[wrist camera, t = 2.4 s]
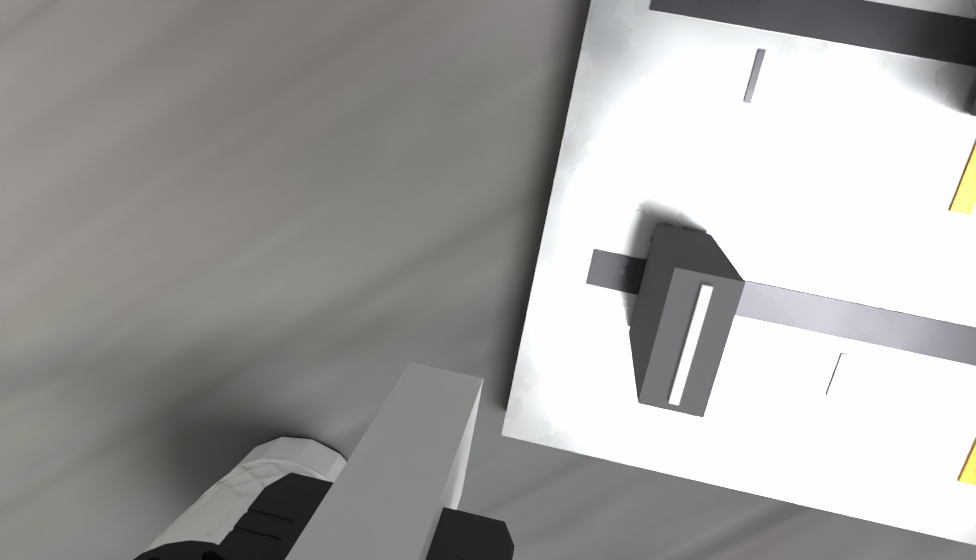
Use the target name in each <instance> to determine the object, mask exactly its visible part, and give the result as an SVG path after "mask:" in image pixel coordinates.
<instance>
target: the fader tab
mask: <svg viewBox="0 0 976 560" xmlns="http://www.w3.org/2000/svg"><path fill="white" fill-rule="evenodd" d="M744 285H745V281H744V279H743V278H742V277H741V275H740V274H739V272H738V271H737V270H736V268H735V267H734V265H733V264H732V263H731V261H730V260H729V258H728V257H727V256H726V254H725V253H724V251H723V250H722V249H721V247H720V246H719V244H718V243H717V242H716V240H715V239H714V237H713V236H712V235H711V234H708V233H703V232H698V231H693V230H688V229H683V228H678V227H673V226H668V225H663V224H658V223H656V227H655V231H654V235H653V239H652V243H651V247H650V251H649V255H648V258H647V262H646V266H645V270H644V274H643V278H642V282H641V286H640V289H639V293H638V297H637V301H636V305H635V309H634V313H633V317H632V321H631V324H630V328H629V332H628V333H629V341H630V348H631V356H632V363H633V371H634V378H635V386H636V393H637V401H638V404H643V405H647V406H652V407H656V408H661V409H665V410H670V411H674V412H679V413H683V414H687V415H692V416H696V417H701V418H704V415H705V412H706V409H707V406H708V402H709V399H710V396H711V393H712V389H713V386H714V383H715V380H716V376H717V373H718V370H719V366H720V363H721V360H722V357H723V353H724V350H725V347H726V344H727V340H728V337H729V334H730V331H731V327H732V324H733V321H734V318H735V314H736V311H737V308H738V305H739V301H740V298H741V295H742V292H743V288H744Z"/></svg>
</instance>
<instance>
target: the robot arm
mask: <svg viewBox="0 0 976 560" xmlns="http://www.w3.org/2000/svg"><path fill="white" fill-rule="evenodd" d="M482 383H483V378H479V377H474V376H470V375H465V374H461V373H457V372H452V371H448V370H443V369H439V368H434V367H430V366H425V365H421V364H417V363H412V362H410V364H409V365H408V367H407V368H406V370H405V371H404V373H403V375H402V376H401V378H400V379H399V381H398V382H397V384H396V386H395V387H394V389H393V390H392V392H391V393H390V395H389V397H388V398H387V400H386V401H385V403H384V404H383V406H382V408H381V409H380V411H379V412H378V414H377V415H376V417H375V419H374V420H373V422H372V423H371V425H370V426H369V428H368V430H367V431H366V433H365V434H364V436H363V438H362V439H361V441H360V442H359V444H358V445H357V447H356V449H355V450H354V452H353V453H352V455H351V456H350V458H349V460H348V461H347V463H346V464H345V466H344V467H343V469H342V471H341V472H340V474H339V475H338V477H337V478H336V480H335V482H329V481H325V480H321V479H317V478H313V477H309V476H305V475H301V474H297V473H292V472H291V473H289V474H287V475H286V476H284V477H282V478H280V479H278V480H277V481H275V482H273V483H271V484H270V485H268V486H266V487H265V488H264V489H263V490H262V491H261V493H260V494H259V495H258V496H257V498H256V499H255V500H254V501H253V503H252V504H251V505H250V506H249V508H248V510H247V513H244V514H243V515H242V516H241V518H240V519H239V520H238V521H237V523H236V524H235V525H234V528H233V530H232V531H229V533H228V534H227V535H226V536H225V538H224V539H223V540H222V542H221V543H220V544H219V545H218V544H215V543H213V542H203V541H194V540H188V541H181V542H174V543H167V544H164V545H161V546H159V547H156V548H154V549H151V550H149V551H146V552H144V553H142V554H140V555H139V556H138V557H137V558H135V559H134V560H512V557H513V551H514V544H513V542H512V539H511V536H510V534H509V531H508V529H507V526H506V523H505V522H504V521H500V520H496V519H491V518H487V517H483V516H479V515H475V514H471V513H467V512H463V511H458V510H457V507H458V503H459V500H460V497H461V493H462V488H463V483H464V477H465V472H466V467H467V462H468V456H469V451H470V446H471V441H472V436H473V430H474V425H475V420H476V415H477V409H478V404H479V399H480V394H481V388H482Z"/></svg>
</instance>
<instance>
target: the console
mask: <svg viewBox="0 0 976 560" xmlns="http://www.w3.org/2000/svg"><path fill="white" fill-rule="evenodd" d="M975 99H976V0H591V3H590V8H589V13H588V18H587V23H586V27H585V32H584V37H583V42H582V47H581V52H580V57H579V61H578V66H577V71H576V76H575V81H574V86H573V91H572V95H571V100H570V105H569V110H568V115H567V120H566V125H565V130H564V134H563V139H562V144H561V149H560V154H559V159H558V164H557V168H556V173H555V178H554V183H553V188H552V193H551V198H550V202H549V207H548V212H547V217H546V222H545V227H544V232H543V237H542V241H541V246H540V251H539V256H538V261H537V266H536V271H535V275H534V280H533V285H532V290H531V295H530V300H529V305H528V309H527V314H526V319H525V324H524V329H523V334H522V339H521V344H520V348H519V353H518V358H517V363H516V368H515V373H514V378H513V382H512V387H511V392H510V397H509V402H508V407H507V412H506V416H505V421H504V426H503V431H502V435H503V436H508V437H512V438H516V439H521V440H525V441H529V442H533V443H538V444H542V445H546V446H551V447H555V448H559V449H564V450H568V451H572V452H577V453H581V454H585V455H590V456H594V457H598V458H602V459H607V460H611V461H615V462H620V463H624V464H628V465H633V466H637V467H641V468H646V469H650V470H654V471H658V472H663V473H667V474H671V475H676V476H680V477H684V478H689V479H693V480H697V481H702V482H706V483H710V484H715V485H719V486H723V487H727V488H732V489H736V490H740V491H745V492H749V493H753V494H758V495H762V496H766V497H771V498H775V499H779V500H783V501H788V502H792V503H796V504H801V505H805V506H809V507H814V508H818V509H822V510H827V511H831V512H835V513H840V514H844V515H848V516H852V517H857V518H861V519H865V520H870V521H874V522H878V523H883V524H887V525H891V526H896V527H900V528H904V529H908V530H913V531H917V532H921V533H926V534H930V535H934V536H939V537H943V538H947V539H952V540H956V541H960V542H965V543H969V544H973V545H976V116H971V115H970V112H971V110H972V107H973V104H974V102H975ZM656 223H658V224H663V225H668V226H673V227H678V228H683V229H688V230H693V231H698V232H703V233H708V234H711V235H712V236H713V237H714V239H715V240H716V242H717V243H718V244H719V246H720V247H721V249H722V250H723V251H724V253H725V254H726V256H727V257H728V258H729V260H730V261H731V263H732V264H733V265H734V267H735V268H736V270H737V271H738V272H739V274H740V275H741V277H742V278H743V279H744V281H745V285H744V288H743V292H742V295H741V298H740V301H739V305H738V308H737V311H736V314H735V318H734V321H733V324H732V327H731V331H730V334H729V337H728V340H727V344H726V347H725V350H724V353H723V357H722V360H721V363H720V366H719V370H718V373H717V376H716V380H715V383H714V386H713V389H712V393H711V396H710V399H709V402H708V406H707V409H706V412H705V415H704V418H701V417H696V416H692V415H687V414H683V413H679V412H674V411H670V410H665V409H661V408H656V407H652V406H647V405H643V404H638V401H637V393H636V386H635V378H634V371H633V363H632V356H631V348H630V341H629V333H628V332H629V328H630V324H631V321H632V317H633V313H634V309H635V305H636V301H637V297H638V293H639V289H640V286H641V282H642V278H643V274H644V270H645V266H646V262H647V258H648V255H649V251H650V247H651V243H652V239H653V235H654V231H655V227H656Z"/></svg>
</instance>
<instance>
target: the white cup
mask: <svg viewBox="0 0 976 560" xmlns="http://www.w3.org/2000/svg"><path fill="white" fill-rule="evenodd" d="M346 463H347V461H346V460H345V459H344V458H343V456H342V455H341V454H340V453H338V452H336V451H334V450H332V449H330V448H328V447H326V446H324V445H322V444H320V443H319V442H317V441H315V440H312V439H303V438H292V437H280V438H277V439H275V440H272V441H269V442H267V443H264V444H262V445H259V446H256V447H255V448H254V449H253V450H252V451H251V452H250V453H249V454H248V455H247V456H246V457H245V458H244V459H243V460H242V461H241V462H240V463H239V464H238V465H237V466H236V467H235V468H234V469H233V470H232V471H231V472H230V473H229V474H227V475H226V476H224V477H223V478H222V479H220V480H219V481H218V482H216V483H215V484H214V485H213V486H212V487H211V488H209V489H208V490H207V491H206V492H205V493H204V494H203V495H202V496H201V497H200V498H199V499H198V500H197V501H196V502H195V503H194V504H192V505H191V506H190V507H189V508H188V509H187V510H186V511H185V512H183V513H182V514H181V515H180V516H179V517H178V518H177V519H176V520H175V521H174V522H173V523H172V524H171V525H170V526H169V527H168V528H167V529H166V530H165V531H164V532H163V533H162V534H161V535H160V536H159V537H158V538H157V539H156V540H155V541H154V542H153V543H152V544H151V545H150V546H149V547H148V548H147V549H146V550H145V551H144V552H146V551H149V550H151V549H154V548H156V547H159V546H161V545H164V544H167V543H174V542H181V541H188V540H194V541H203V542H213V543H215V544H218V545H219V544H220V543H221V542H222V540H223V539H224V538H225V536H226V535H227V534H228V533H229V531H232V530H233V528H234V525H235V524H236V523H237V521H238V520H239V519H240V518H241V516H242V515H243V514H244V513H247V510H248V508H249V506H250V505H251V504H252V503H253V501H254V500H255V499H256V498H257V496H258V495H259V494H260V493H261V491H262V490H263V489H264V488H265V487H266V486H268V485H270V484H271V483H273V482H275V481H277V480H278V479H280V478H282V477H284V476H286V475H287V474H289V473H291V472H292V473H297V474H301V475H305V476H309V477H313V478H317V479H321V480H325V481H329V482H335V480H336V478H337V477H338V475H339V474H340V472H341V471H342V469H343V467H344V466H345V464H346ZM144 552H143V553H144ZM141 554H142V553H141Z"/></svg>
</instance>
